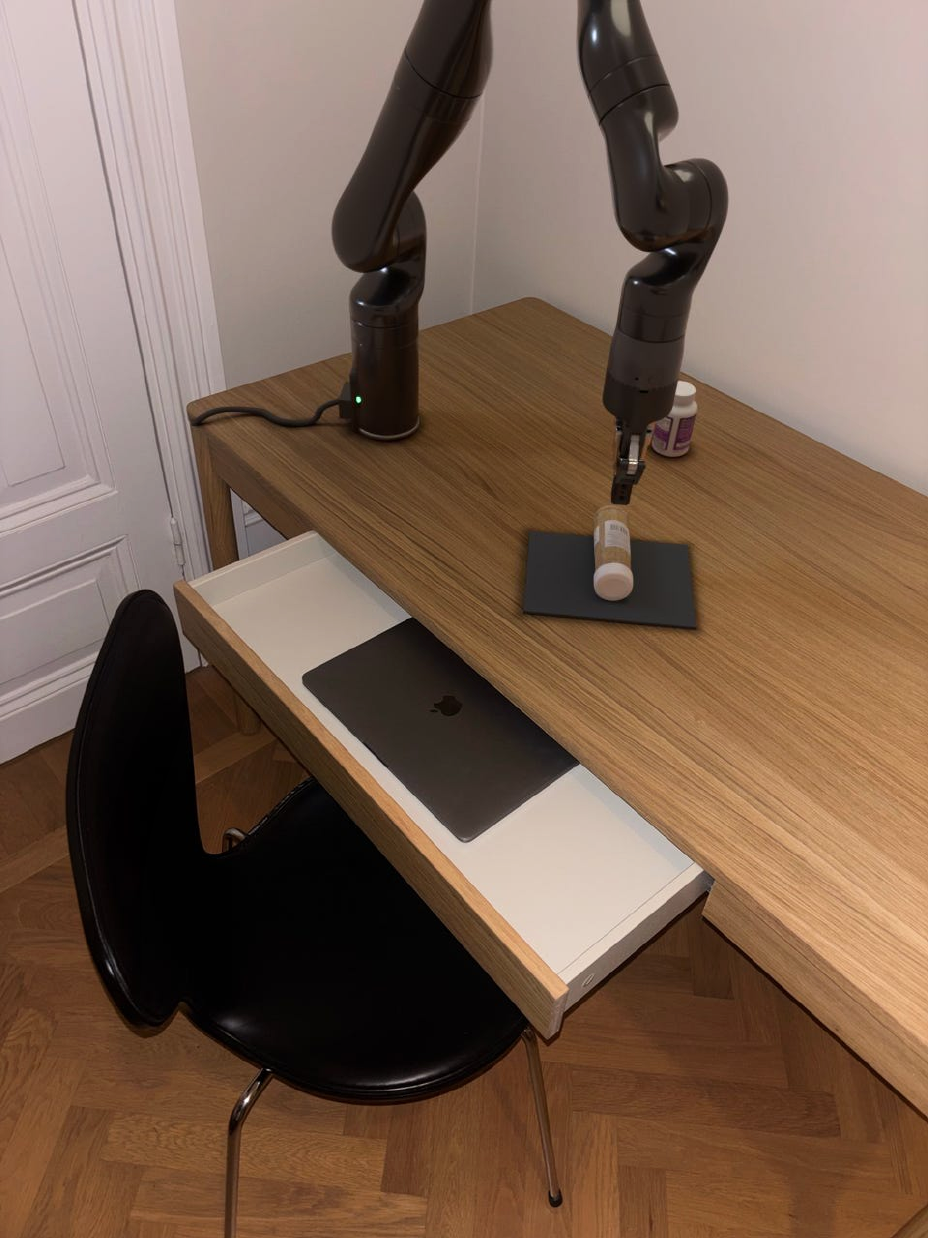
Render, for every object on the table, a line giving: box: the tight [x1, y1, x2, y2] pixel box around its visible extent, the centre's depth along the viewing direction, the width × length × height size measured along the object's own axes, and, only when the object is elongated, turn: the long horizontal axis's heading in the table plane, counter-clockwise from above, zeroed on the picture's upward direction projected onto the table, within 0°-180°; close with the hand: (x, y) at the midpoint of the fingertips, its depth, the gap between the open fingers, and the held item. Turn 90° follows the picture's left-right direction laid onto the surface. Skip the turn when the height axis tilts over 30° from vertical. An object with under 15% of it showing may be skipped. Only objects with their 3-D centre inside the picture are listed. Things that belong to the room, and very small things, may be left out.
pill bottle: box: [651, 380, 698, 458], centre depth 133 cm, size 5×5×10 cm
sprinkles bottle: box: [592, 504, 633, 601], centre depth 115 cm, size 5×5×14 cm
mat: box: [522, 530, 697, 630], centre depth 115 cm, size 20×15×1 cm
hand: (619, 500), depth 111 cm, fingers closed
